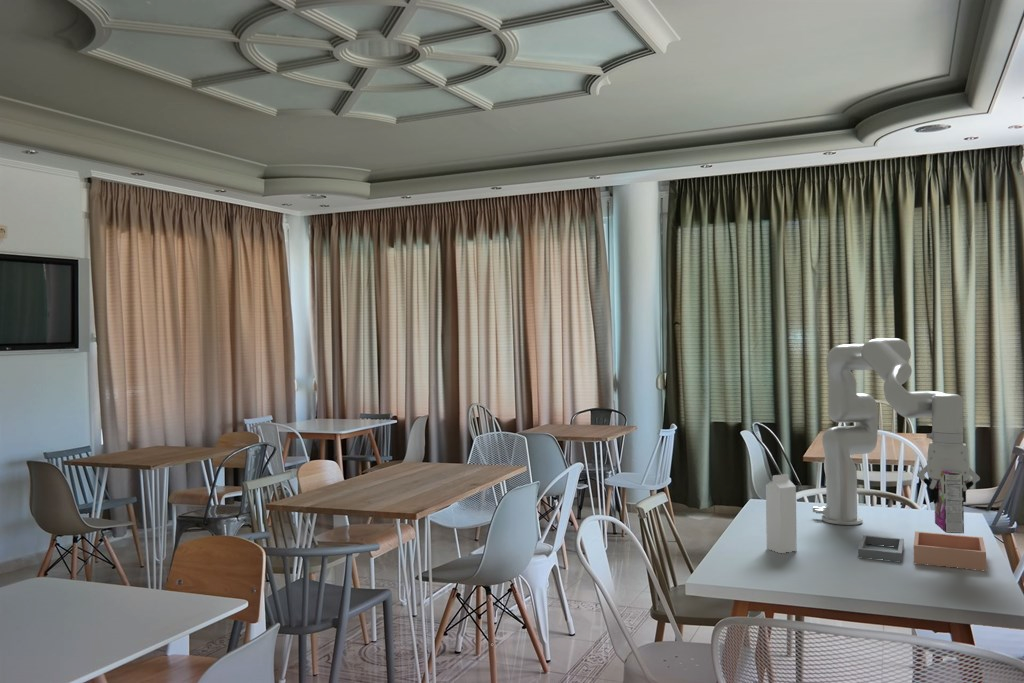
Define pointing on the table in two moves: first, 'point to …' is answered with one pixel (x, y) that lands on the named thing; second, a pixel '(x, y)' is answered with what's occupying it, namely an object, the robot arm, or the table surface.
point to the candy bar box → (950, 502)
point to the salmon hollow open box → (949, 550)
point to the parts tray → (880, 553)
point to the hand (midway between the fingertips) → (948, 503)
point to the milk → (781, 514)
